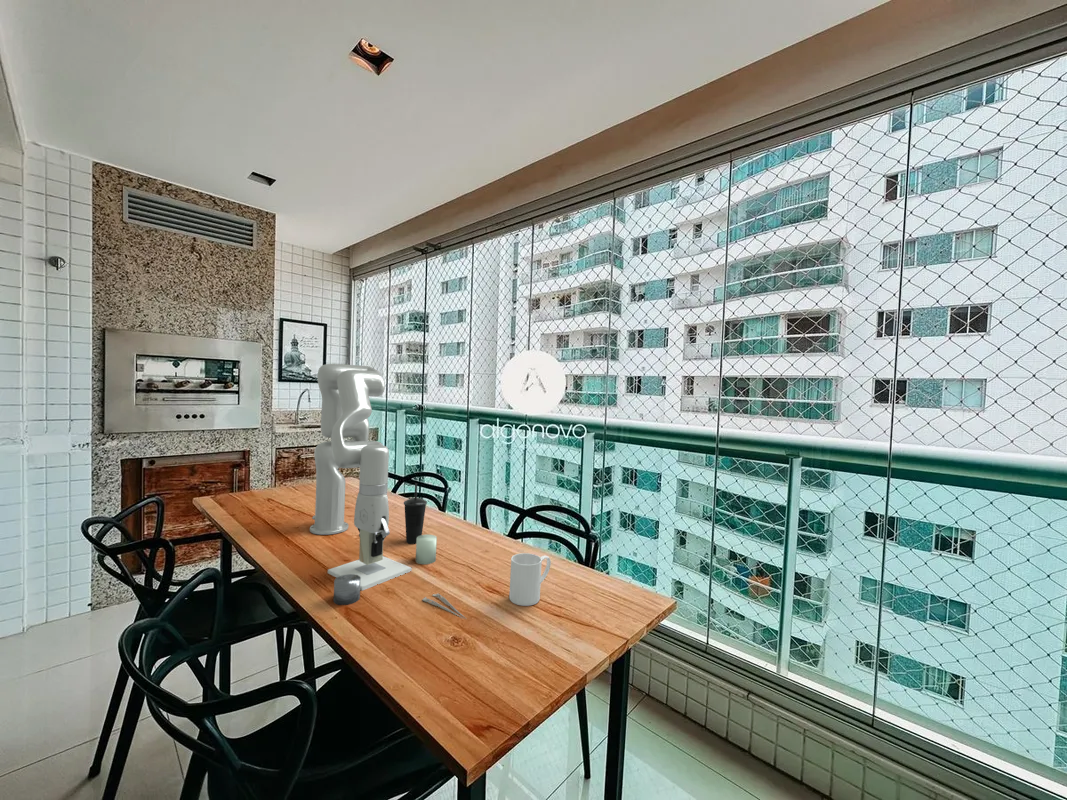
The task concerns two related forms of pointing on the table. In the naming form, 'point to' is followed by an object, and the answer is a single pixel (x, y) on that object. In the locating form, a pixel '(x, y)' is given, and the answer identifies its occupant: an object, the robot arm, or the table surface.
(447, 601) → the tweezers
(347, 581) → the dark tin
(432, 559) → the pale green capsule
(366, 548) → the box
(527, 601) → the mug
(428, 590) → the table surface
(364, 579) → the white square plate
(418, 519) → the drinking cup
